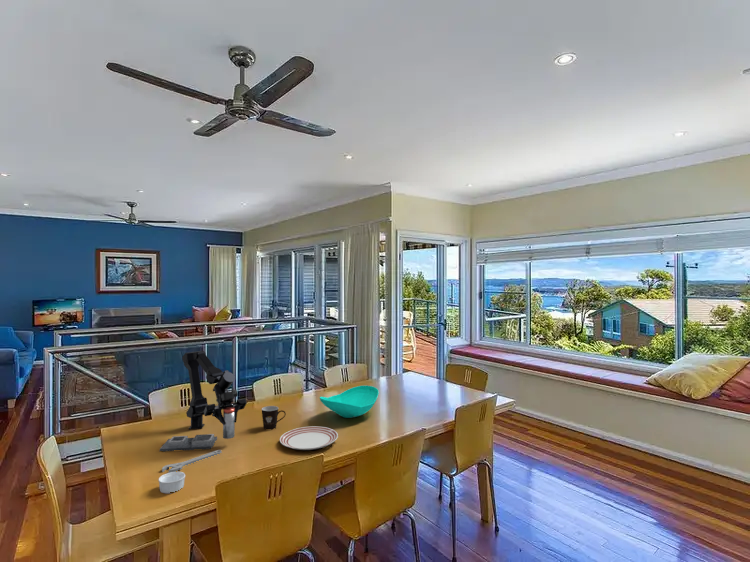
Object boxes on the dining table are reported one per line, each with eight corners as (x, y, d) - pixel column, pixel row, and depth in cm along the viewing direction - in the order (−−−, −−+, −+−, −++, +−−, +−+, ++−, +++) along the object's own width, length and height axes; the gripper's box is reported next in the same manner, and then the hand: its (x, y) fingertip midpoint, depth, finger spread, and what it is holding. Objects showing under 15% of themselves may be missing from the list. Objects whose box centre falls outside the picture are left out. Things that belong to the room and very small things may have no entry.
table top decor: (342, 431, 210) (343, 405, 211) (307, 419, 228) (307, 395, 228) (390, 412, 241) (390, 390, 241) (355, 403, 259) (355, 382, 259)
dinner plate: (286, 458, 177) (286, 451, 177) (274, 436, 202) (275, 430, 202) (345, 449, 188) (346, 441, 188) (328, 429, 213) (328, 423, 213)
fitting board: (168, 441, 195) (168, 434, 195) (217, 439, 198) (217, 432, 198) (159, 451, 183) (159, 444, 183) (211, 448, 186) (211, 441, 186)
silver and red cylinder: (224, 434, 193) (224, 407, 193) (235, 434, 193) (235, 406, 193) (221, 438, 188) (222, 410, 188) (233, 438, 188) (233, 410, 188)
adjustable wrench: (219, 452, 184) (219, 448, 184) (226, 456, 179) (226, 452, 180) (160, 470, 165) (160, 466, 165) (166, 476, 161) (166, 471, 161)
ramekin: (167, 482, 156) (167, 470, 156) (189, 483, 155) (190, 471, 155) (152, 494, 147) (153, 481, 147) (176, 495, 146) (176, 483, 146)
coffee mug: (257, 429, 212) (258, 409, 212) (267, 423, 220) (267, 405, 220) (277, 432, 208) (277, 412, 208) (286, 426, 216) (286, 407, 216)
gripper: (206, 387, 188) (213, 418, 179) (245, 381, 199) (254, 410, 191) (200, 400, 194) (207, 431, 185) (239, 394, 206) (247, 422, 197)
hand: (230, 423), depth 189 cm, fingers closed on silver and red cylinder, 5 cm apart
